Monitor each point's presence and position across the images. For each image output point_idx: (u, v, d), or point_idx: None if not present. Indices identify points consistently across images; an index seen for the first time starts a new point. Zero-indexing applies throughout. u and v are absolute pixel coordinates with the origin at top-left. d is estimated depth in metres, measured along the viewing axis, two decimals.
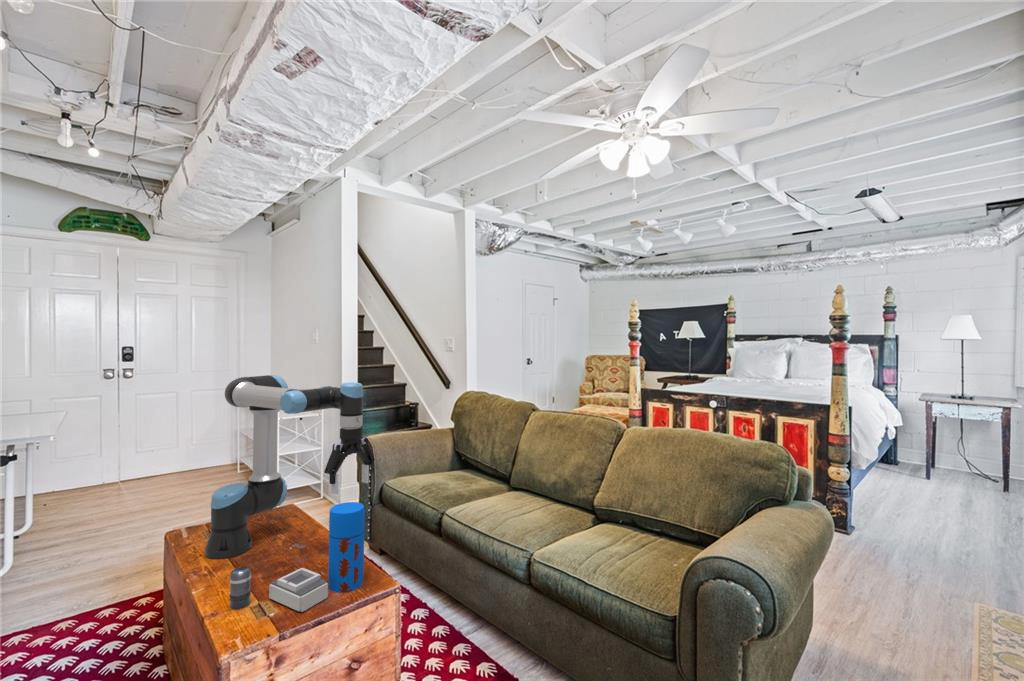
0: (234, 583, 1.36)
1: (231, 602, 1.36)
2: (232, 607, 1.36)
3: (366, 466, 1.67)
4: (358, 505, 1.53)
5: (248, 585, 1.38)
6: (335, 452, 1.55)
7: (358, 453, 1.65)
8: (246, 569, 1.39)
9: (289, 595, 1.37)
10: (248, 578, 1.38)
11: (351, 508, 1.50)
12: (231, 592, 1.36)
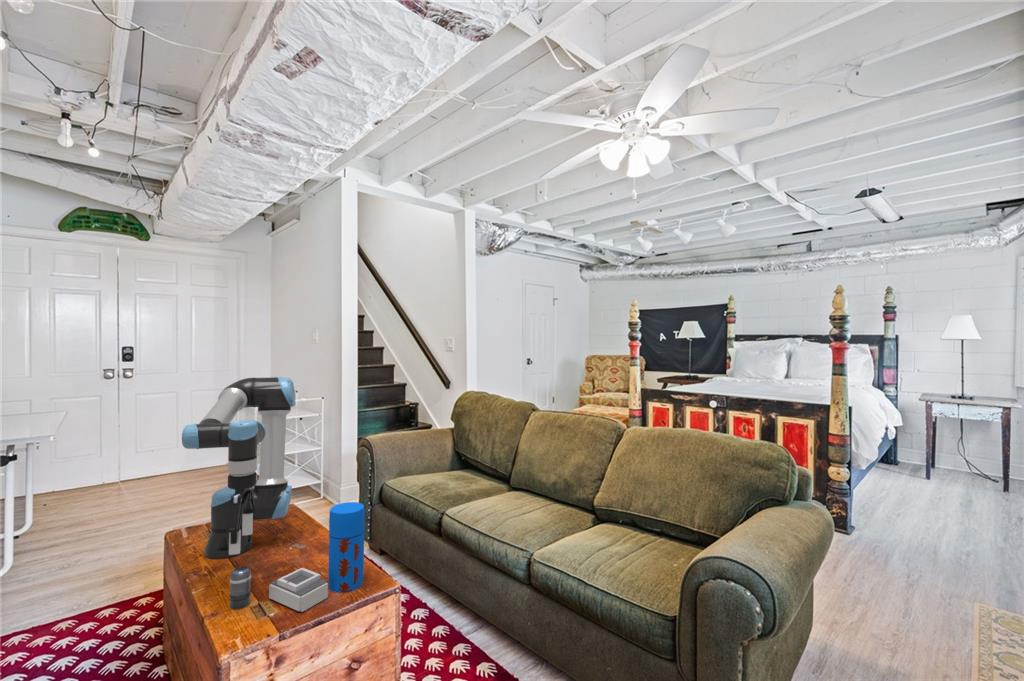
0: (234, 583, 1.36)
1: (231, 602, 1.36)
2: (232, 607, 1.36)
3: None
4: (358, 505, 1.53)
5: (248, 585, 1.38)
6: None
7: None
8: (246, 569, 1.39)
9: (289, 595, 1.37)
10: (248, 578, 1.38)
11: (351, 508, 1.50)
12: (231, 592, 1.36)
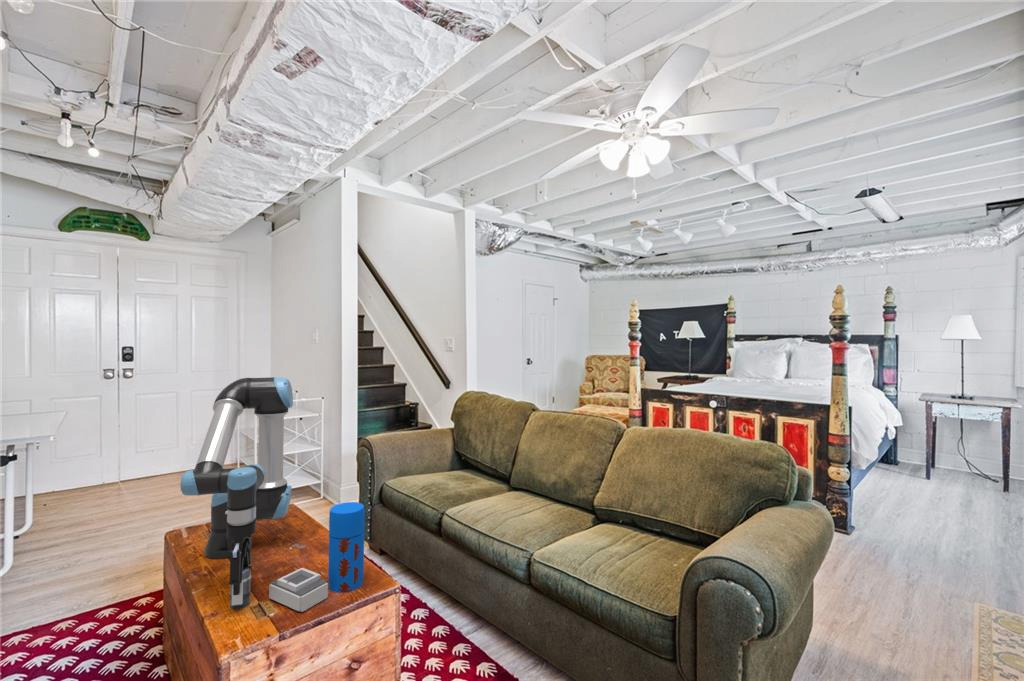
0: None
1: (231, 602, 1.36)
2: (232, 607, 1.36)
3: None
4: (358, 505, 1.53)
5: (248, 585, 1.38)
6: None
7: None
8: (246, 569, 1.39)
9: (289, 595, 1.37)
10: (248, 578, 1.38)
11: (351, 508, 1.50)
12: (231, 592, 1.36)
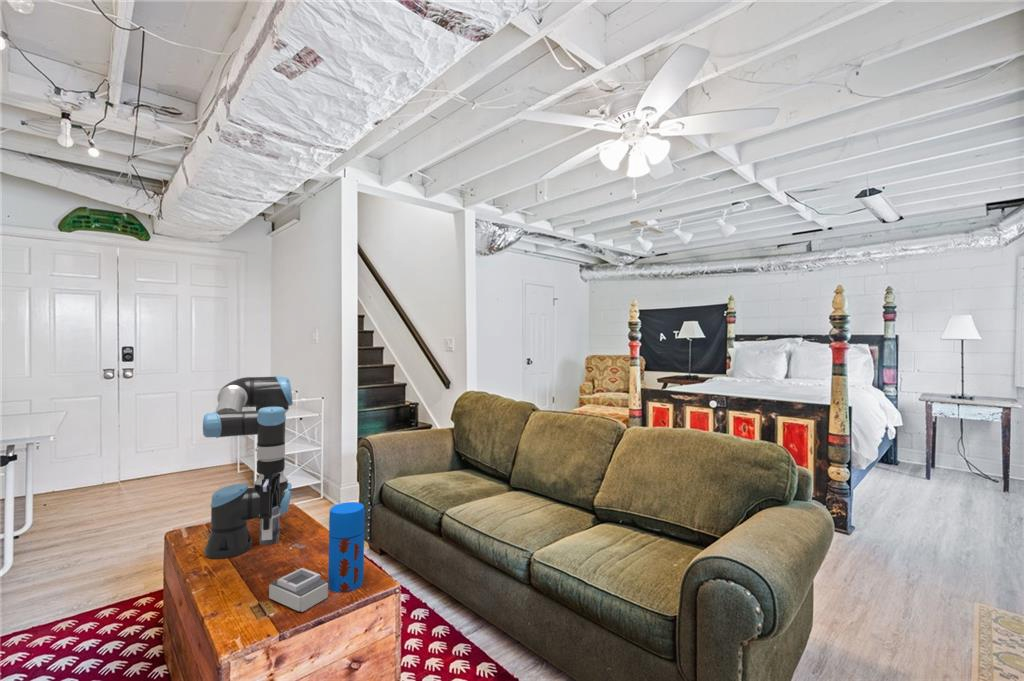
0: None
1: (261, 538, 1.38)
2: (262, 543, 1.37)
3: None
4: (358, 505, 1.53)
5: (277, 522, 1.40)
6: None
7: None
8: (275, 507, 1.41)
9: (289, 595, 1.37)
10: (277, 515, 1.39)
11: (351, 508, 1.50)
12: (261, 528, 1.38)
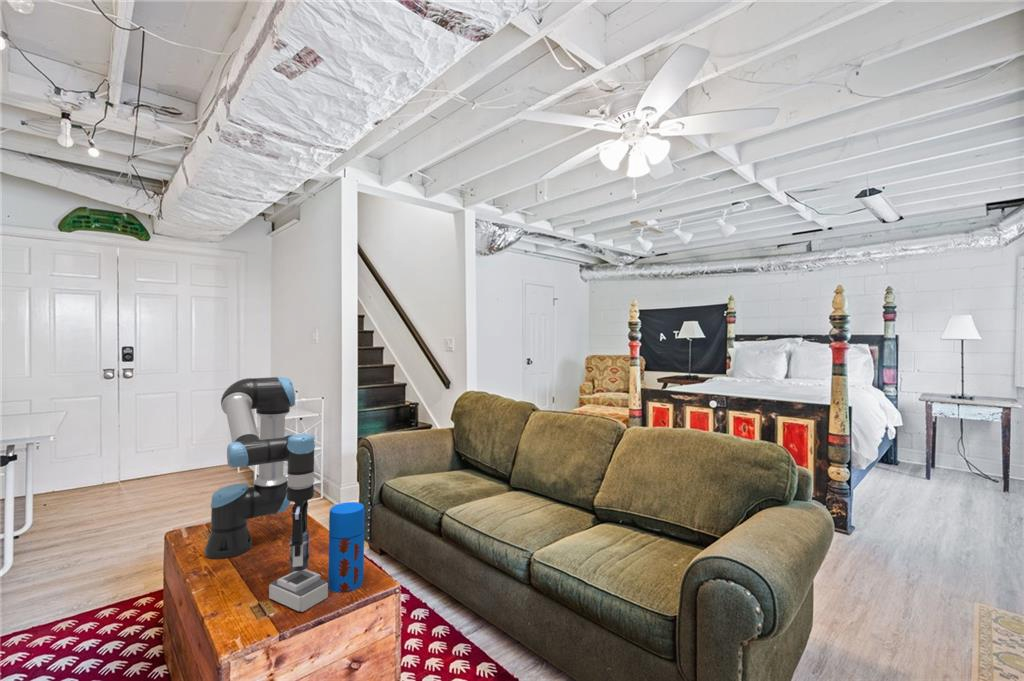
0: None
1: (291, 564, 1.40)
2: (292, 569, 1.40)
3: None
4: (358, 505, 1.53)
5: (307, 548, 1.42)
6: None
7: None
8: (305, 532, 1.43)
9: (289, 595, 1.37)
10: (307, 541, 1.42)
11: (351, 508, 1.50)
12: (291, 554, 1.40)
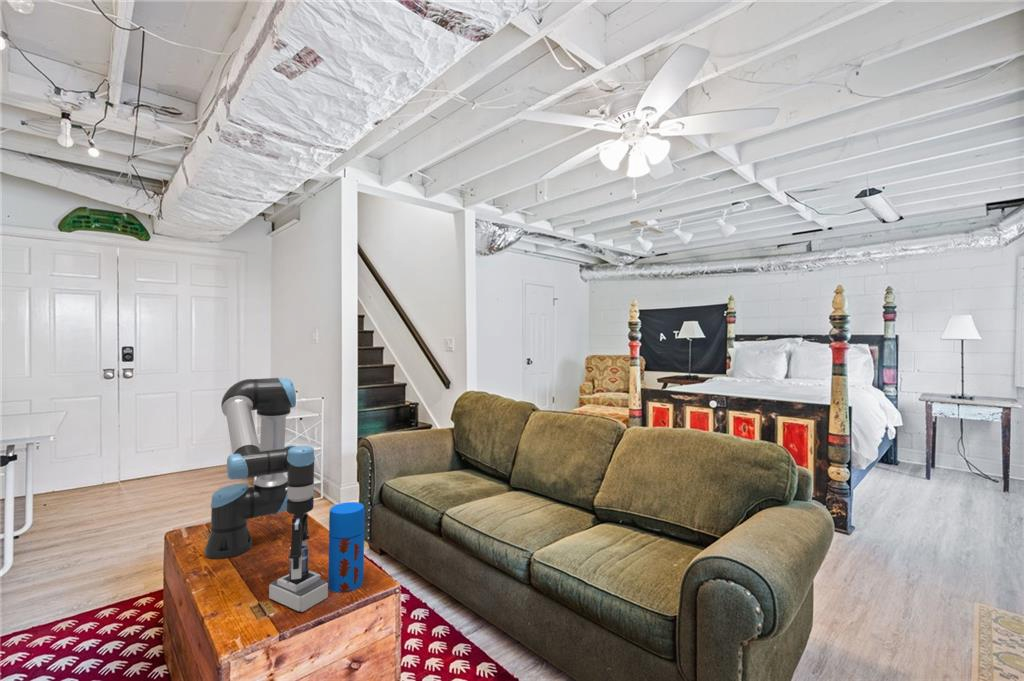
0: None
1: None
2: None
3: None
4: (358, 505, 1.53)
5: (307, 563, 1.42)
6: None
7: None
8: (304, 547, 1.43)
9: (289, 595, 1.37)
10: (307, 556, 1.42)
11: (351, 508, 1.50)
12: None
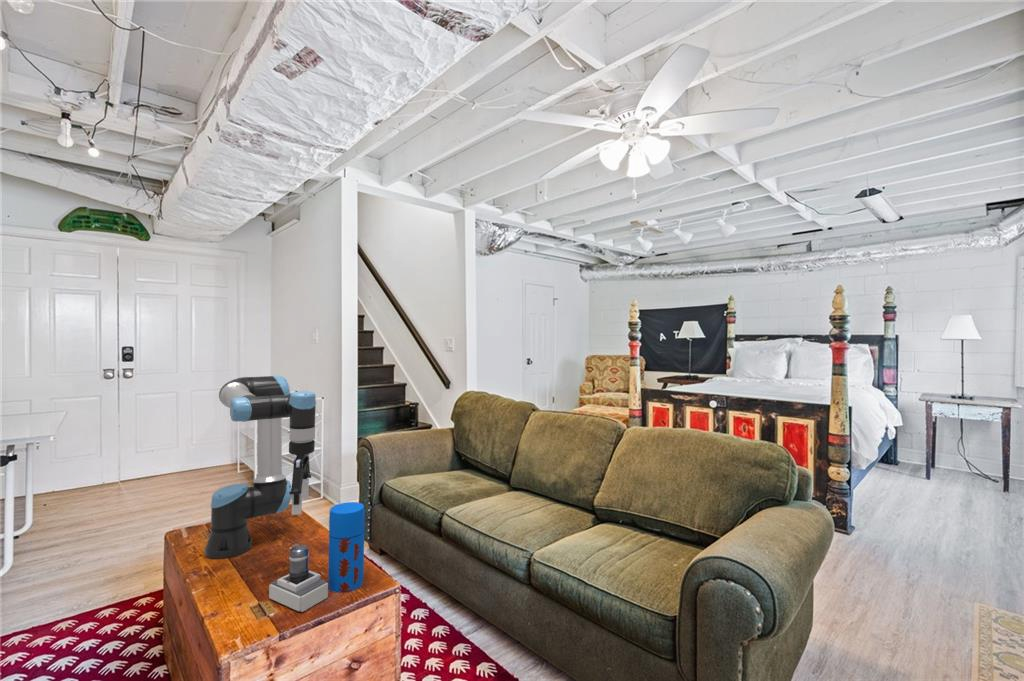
0: (294, 561, 1.40)
1: (291, 579, 1.40)
2: None
3: None
4: (358, 505, 1.53)
5: (307, 563, 1.42)
6: None
7: None
8: (304, 547, 1.43)
9: (289, 595, 1.37)
10: (307, 556, 1.42)
11: (351, 508, 1.50)
12: (291, 569, 1.40)
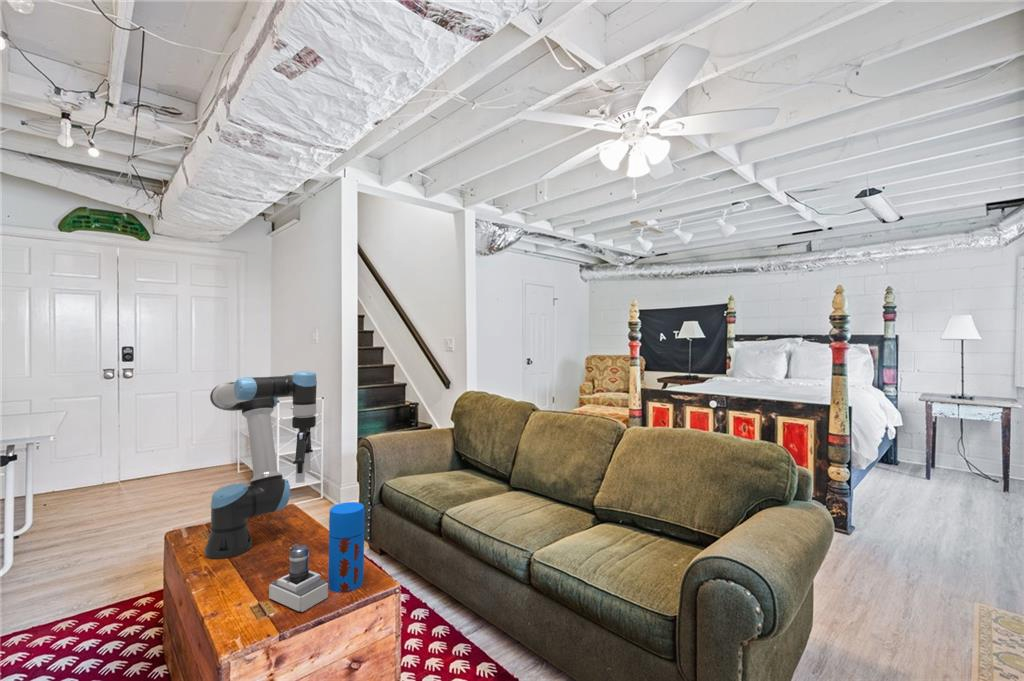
0: (294, 561, 1.40)
1: (291, 579, 1.40)
2: None
3: None
4: (358, 505, 1.53)
5: (307, 563, 1.42)
6: None
7: None
8: (304, 547, 1.43)
9: (289, 595, 1.37)
10: (307, 556, 1.42)
11: (351, 508, 1.50)
12: (291, 569, 1.40)
